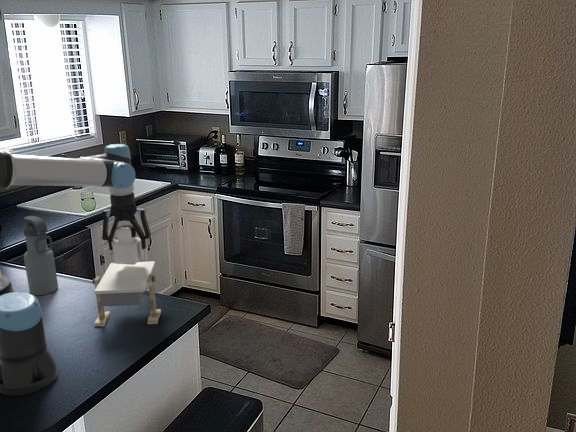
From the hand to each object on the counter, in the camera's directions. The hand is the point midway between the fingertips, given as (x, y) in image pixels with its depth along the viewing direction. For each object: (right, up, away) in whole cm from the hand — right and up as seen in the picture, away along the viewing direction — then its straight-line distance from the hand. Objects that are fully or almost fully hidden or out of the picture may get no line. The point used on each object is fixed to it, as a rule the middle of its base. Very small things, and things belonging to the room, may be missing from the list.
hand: (129, 258), depth 183 cm
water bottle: (-37, -13, +19) cm, 43 cm away
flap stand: (+1, -20, -4) cm, 20 cm away
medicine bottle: (0, -1, 0) cm, 1 cm away
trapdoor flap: (+1, -10, -3) cm, 11 cm away
